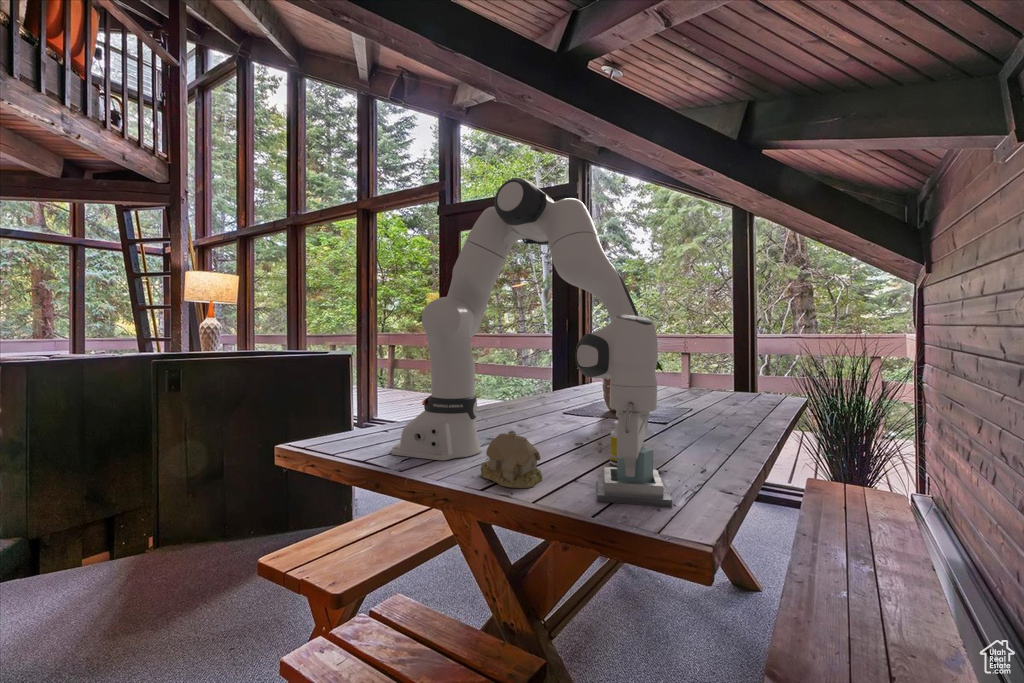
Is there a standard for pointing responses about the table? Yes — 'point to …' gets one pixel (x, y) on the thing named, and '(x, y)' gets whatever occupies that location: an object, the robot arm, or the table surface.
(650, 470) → the block
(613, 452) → the supplement bottle
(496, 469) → the ceramic model
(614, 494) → the collar socket
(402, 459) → the table surface
